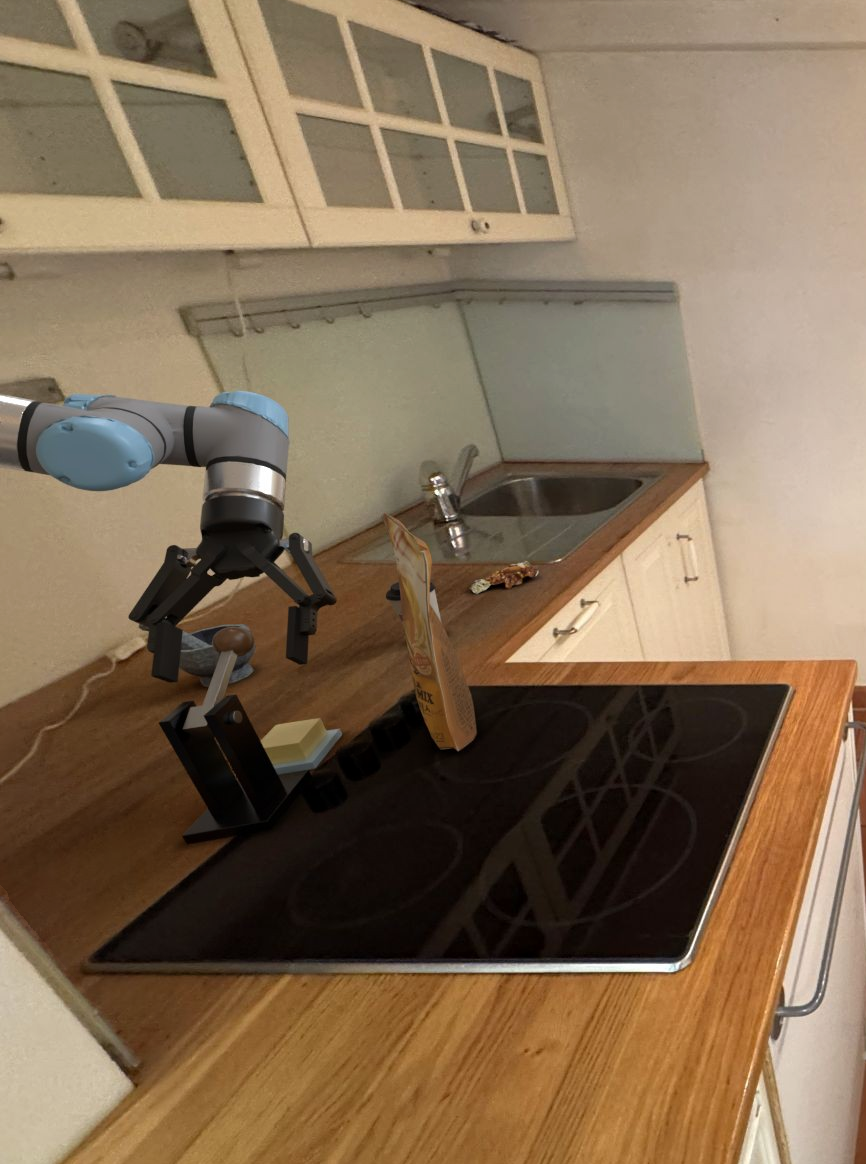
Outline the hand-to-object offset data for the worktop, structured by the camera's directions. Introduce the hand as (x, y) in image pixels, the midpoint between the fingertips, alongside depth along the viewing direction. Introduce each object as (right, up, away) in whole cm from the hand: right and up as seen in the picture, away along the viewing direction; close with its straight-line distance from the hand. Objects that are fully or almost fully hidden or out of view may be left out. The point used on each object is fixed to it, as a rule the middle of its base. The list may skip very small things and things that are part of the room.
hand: (231, 670), depth 89 cm
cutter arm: (0, -2, -1) cm, 2 cm away
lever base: (+3, -16, 0) cm, 16 cm away
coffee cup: (-5, +3, +40) cm, 41 cm away
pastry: (-5, +13, +62) cm, 64 cm away
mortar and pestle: (-30, -3, +30) cm, 42 cm away
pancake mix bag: (+16, -8, +16) cm, 24 cm away
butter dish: (-1, -12, +10) cm, 15 cm away
